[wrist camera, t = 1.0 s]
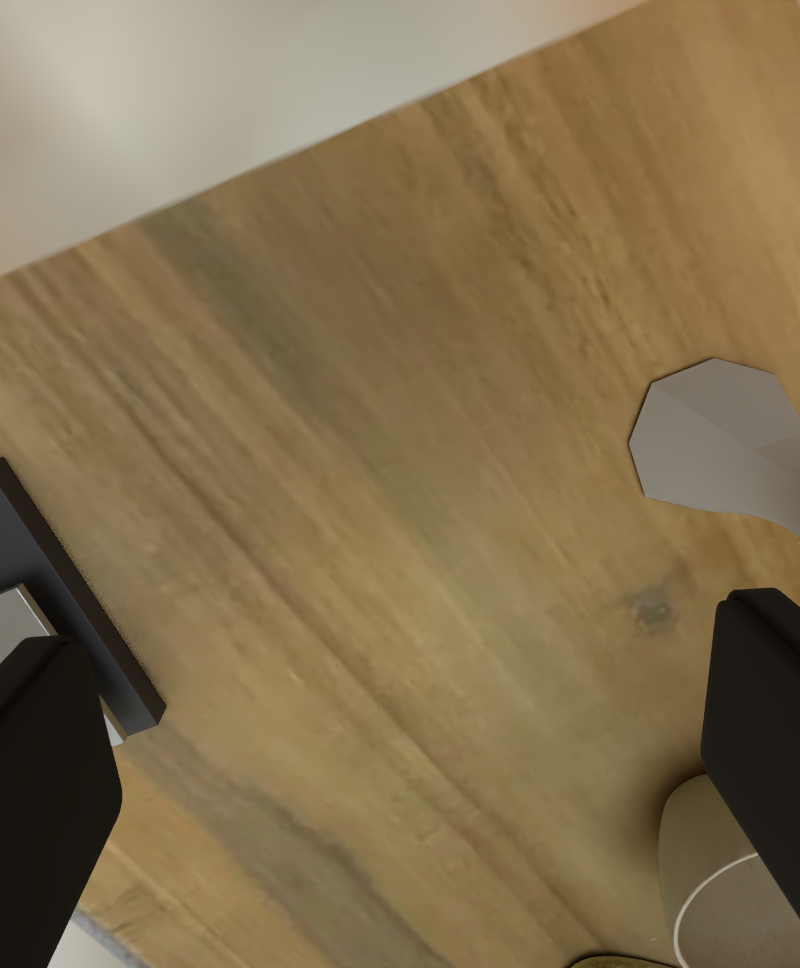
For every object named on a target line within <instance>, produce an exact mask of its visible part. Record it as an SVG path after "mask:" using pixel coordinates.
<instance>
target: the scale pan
mask: <svg viewBox="0 0 800 968" xmlns="http://www.w3.org/2000/svg"><path fill="white" fill-rule="evenodd" d="M51 635H58V634H57V632H56V631H55V629H54V628H53V626H52V625H51V624H50V622H49V621H48V619H47V618H46V616H45V615H44V613H43V612H42V610H41V609H40V608H39V606H38V605H37V603H36V602H35V600H34V599H33V597H32V596H31V595H30V593H29V592H28V590H27V589H26V587H25V586H24V584H23V583H20V584H17V585H15V586H13V587H10V588H8V589H5V590H3V591H0V663H1V662H2V661H3V660H4V659H5V658H6V657H7V656H8V655H9V654H10V653H11V652H12V650H13V649H14V648H15V647H16V646H17V645H18V644H19V643H20V642H21V641H22V640H24V639H25V638H27V637H36V636H51ZM98 694H99V693H98ZM99 698H100V702H101V706H102V710H103V714H104V718H105V722H106V726H107V730H108V734H109V738H110V742H111V746H115V745H118V744H121V743H123V742H125V740H126V738H127V733H126V732H125V731H124V729H123V728H122V726H121V725H120V723H119V722H118V720H117V719H116V717H115V716H114V715H113V713H112V712H111V710H110V709H109V707H108V706H107V704H106V703H105V702H104V700H103V699H102V697H101V696H100V694H99Z"/></svg>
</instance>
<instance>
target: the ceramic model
mask: <svg viewBox="0 0 800 968" xmlns="http://www.w3.org/2000/svg"><path fill="white" fill-rule="evenodd" d="M571 968H672V967H668V966H665V965H661V964H657V963H652V962H649V961H643V960H639V959H633V958H625V957H619V956H600V957H591V958H588V959H585V960H581V961H580V962H578V963H576V964H574V966H572V967H571Z"/></svg>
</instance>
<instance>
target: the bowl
mask: <svg viewBox="0 0 800 968" xmlns="http://www.w3.org/2000/svg"><path fill="white" fill-rule="evenodd" d="M658 870H659V883H660V891H661V898H662V904H663V910H664V914H665V919H666V923H667V927H668V931H669V935H670V939H671V942H672V945H673V948H674V951H675V954H676V957H677V959H678V961H679V963H680V964H681V966H682V967H683V968H800V919H799V917H798V916H797V914H796V913H795V911H794V910H793V908H792V906H791V905H790V903H789V902H788V900H787V899H786V897H785V895H784V894H783V892H782V891H781V889H780V888H779V886H778V885H777V883H776V881H775V880H774V878H773V877H772V875H771V874H770V872H769V870H768V869H767V867H766V866H765V864H764V863H763V861H762V860H761V858H760V856H759V855H758V853H757V852H756V850H755V849H754V847H753V845H752V844H751V842H750V841H749V839H748V838H747V836H746V835H745V833H744V831H743V830H742V828H741V827H740V825H739V824H738V822H737V820H736V819H735V817H734V816H733V814H732V813H731V811H730V810H729V808H728V806H727V805H726V803H725V802H724V800H723V799H722V797H721V795H720V794H719V792H718V791H717V789H716V788H715V786H714V785H713V783H712V781H711V780H710V778H709V777H708V775H707V774H704V775H700V776H696V777H694V778H691V779H689V780H687V781H686V782H684V783H682V784H681V785H680V786H678V787H677V788H676V789H675V790H674V791H673V792H672V793H671V795H670V796H669V798H668V799H667V801H666V804H665V807H664V811H663V815H662V819H661V825H660V833H659V844H658Z"/></svg>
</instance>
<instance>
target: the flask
mask: <svg viewBox="0 0 800 968" xmlns="http://www.w3.org/2000/svg"><path fill="white" fill-rule="evenodd" d="M629 446H630V449H631V452H632V455H633V459H634V462H635V465H636V468H637V472H638V475H639V478H640V481H641V485H642V488H643V491H644V494H645V497H648V498H652V499H656V500H660V501H665V502H669V503H673V504H677V505H681V506H686V507H690V508H694V509H698V510H704V511H711V512H724V513H736V514H744V515H751V516H758V517H761V518H764V519H766V520H769V521H772V522H775V523H777V524H780V525H781V526H783V527H784V528H786V529H787V530H789V531H791V532H792V533H794V534H795V535H797V536H798V537H799V541H800V417H799V415H798V414H797V412H796V411H795V409H794V407H793V406H792V404H791V402H790V400H789V399H788V397H787V395H786V393H785V392H784V390H783V388H782V386H781V385H780V383H779V382H778V380H777V379H776V377H775V376H774V374H773V373H769V372H765V371H761V370H758V369H754V368H750V367H746V366H743V365H739V364H735V363H731V362H728V361H724V360H720V359H716V358H713V359H711V360H708V361H706V362H703V363H701V364H698V365H696V366H693V367H691V368H688V369H686V370H683V371H681V372H678V373H676V374H673V375H671V376H668V377H666V378H663V379H661V380H659V381H656V382H654V383H652V384H651V387H650V389H649V392H648V395H647V397H646V400H645V402H644V405H643V408H642V410H641V413H640V415H639V418H638V421H637V423H636V426H635V428H634V431H633V434H632V436H631V439H630V442H629Z"/></svg>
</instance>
